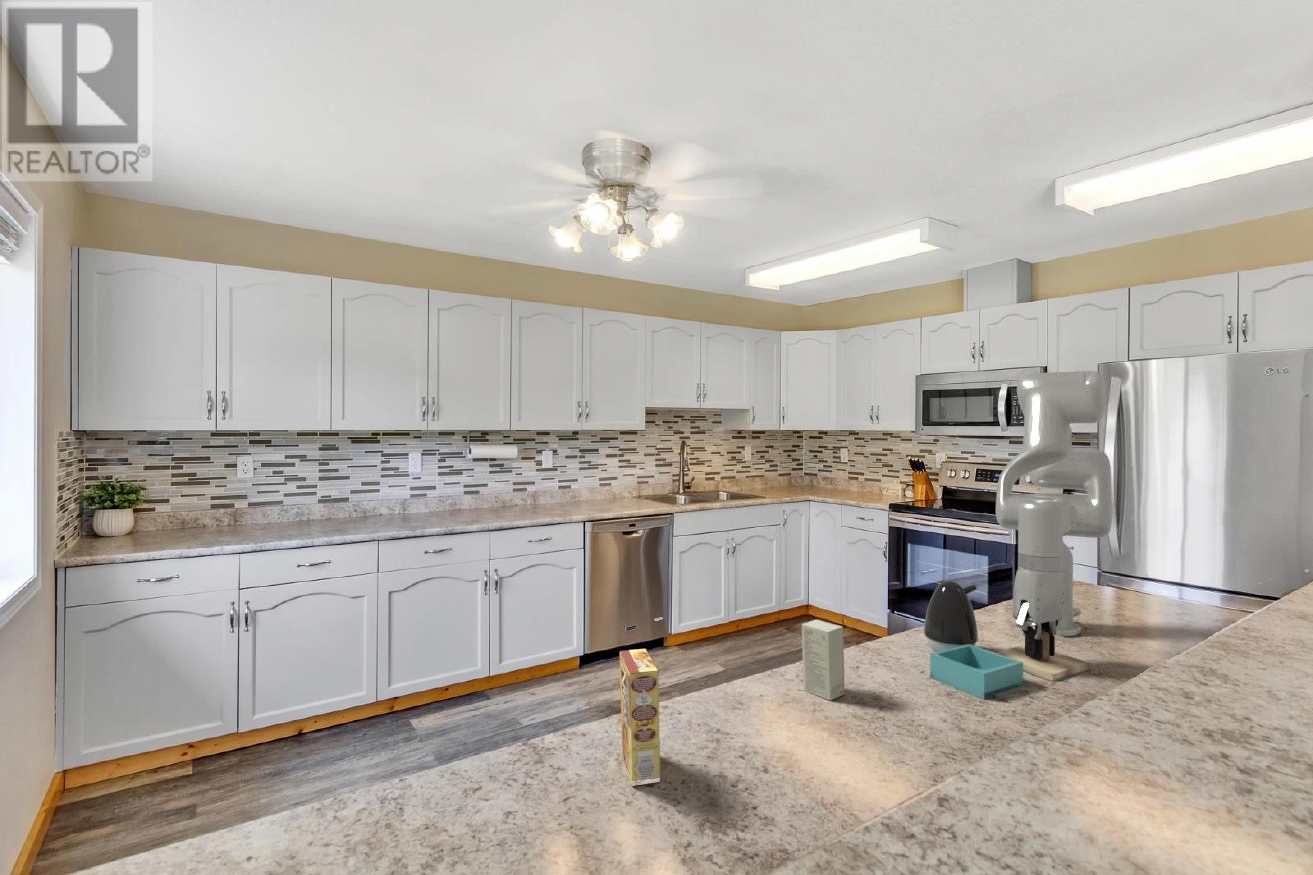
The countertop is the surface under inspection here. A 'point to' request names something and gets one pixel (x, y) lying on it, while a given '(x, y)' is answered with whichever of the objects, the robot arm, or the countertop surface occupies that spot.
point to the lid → (1047, 661)
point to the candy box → (640, 714)
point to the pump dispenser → (950, 617)
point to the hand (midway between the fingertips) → (1039, 654)
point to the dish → (976, 670)
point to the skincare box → (823, 659)
